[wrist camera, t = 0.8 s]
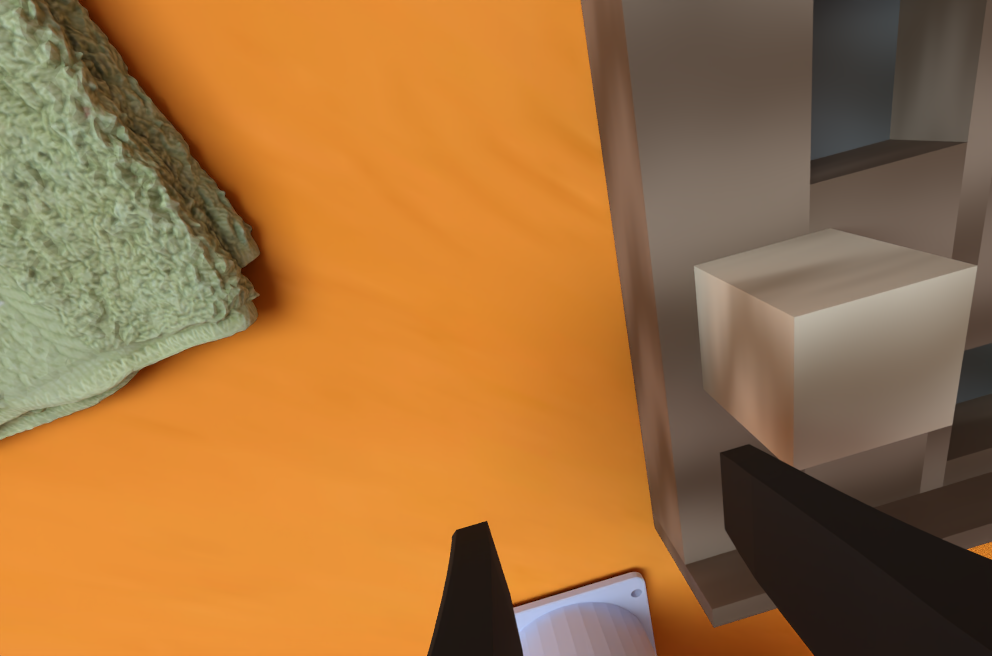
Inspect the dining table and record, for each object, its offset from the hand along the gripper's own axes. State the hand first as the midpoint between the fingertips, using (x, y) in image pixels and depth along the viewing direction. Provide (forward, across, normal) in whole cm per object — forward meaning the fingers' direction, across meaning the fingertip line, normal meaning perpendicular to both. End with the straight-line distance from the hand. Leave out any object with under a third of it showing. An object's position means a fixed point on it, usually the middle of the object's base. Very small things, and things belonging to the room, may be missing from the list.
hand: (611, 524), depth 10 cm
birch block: (+6, -8, 0) cm, 10 cm away
